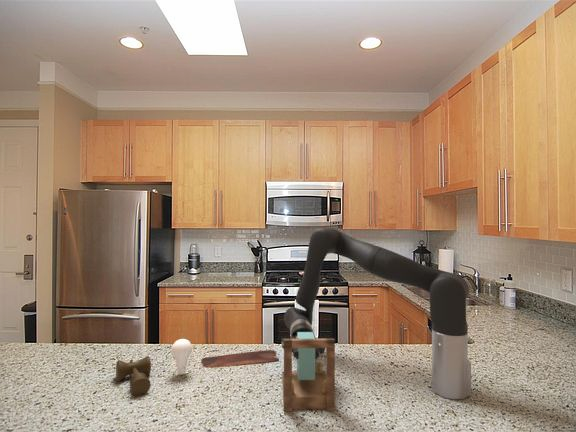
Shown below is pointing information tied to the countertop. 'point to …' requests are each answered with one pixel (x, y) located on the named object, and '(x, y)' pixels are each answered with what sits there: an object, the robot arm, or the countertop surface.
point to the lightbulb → (181, 354)
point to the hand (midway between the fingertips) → (306, 355)
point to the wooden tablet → (240, 359)
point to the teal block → (306, 359)
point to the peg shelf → (309, 391)
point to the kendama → (135, 374)
